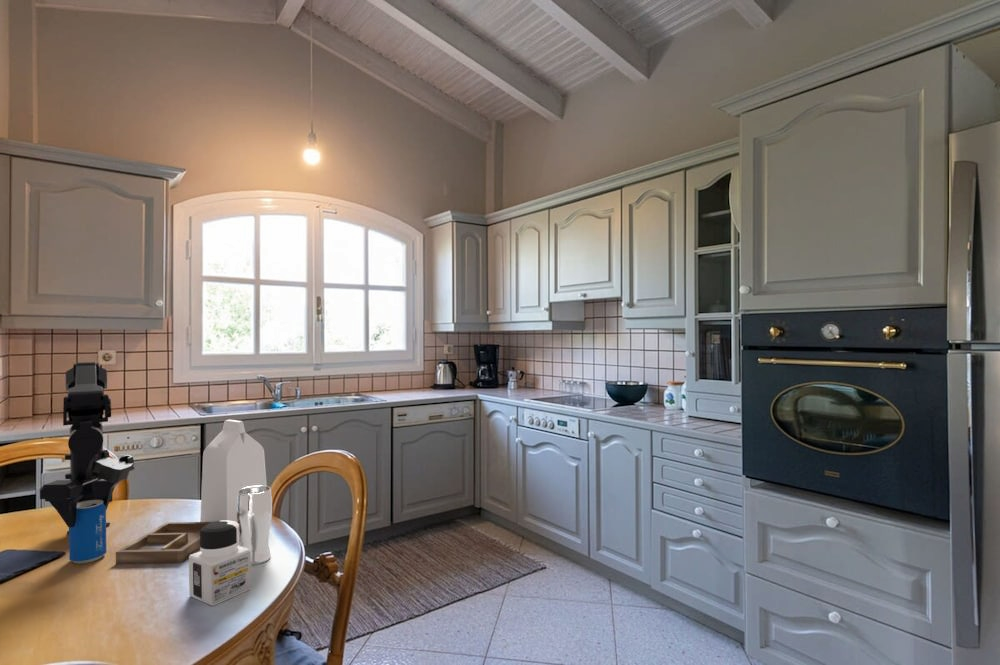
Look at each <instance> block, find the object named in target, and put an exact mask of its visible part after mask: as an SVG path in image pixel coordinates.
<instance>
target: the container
mask: <svg viewBox="0 0 1000 665" xmlns="http://www.w3.org/2000/svg"><path fill="white" fill-rule="evenodd" d="M188 584H189V585H188V587H189V588H188V589H189V590H188V593H189V596H190V597H192V598H194V599H196V600H198V601H200V602H202V603H205V604H207V605H209V606H212V607H214V606H216V605H219V604H221V603H223V602H225V601H228V600H230V599H232V598H234V597H237V596H239V595H242V594H244V593H245V592H248V591H250V590H251V589H252V565H251V551H250V549H247V548H244V547H242V545H240V532H239V524H238V523H237V522H235V521H231V520H221V521H216V522H212V523H209V524H207V525H206V526H204V527H203V528H202V529H201V530H200V550H199V551H197V552H196V553H194V554H191V555H190V556H189V558H188Z"/></svg>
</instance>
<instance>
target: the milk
mask: <svg viewBox="0 0 1000 665" xmlns="http://www.w3.org/2000/svg"><path fill="white" fill-rule="evenodd" d="M265 456H266V455H265V449H264V447H263V445H262V444H261V443H260V442H258V441H257V439H254V438H253V437H252V436H251V435H249V434H248V433H247V432H246V429H245V424H244V422H243V420H235V419H226V420H225V419H224V422H223V427H222V430H221V431H220V432H218V434H217V435H216V436H215V437H214V438H213V440H211V441H210V443H209V444H207V446H206V447H205V449H204V450H203V454H202V471H201V495H200V496H201V497H200V498H201V499H200V519H199V520H200V521H199V522H216V521H221V520H231V521H235V522H237V496H238V493H237V492H238V491H239V490H240V489H243V488H246V487H251V486H268V485H267V470H266V458H265ZM237 523H238V522H237Z"/></svg>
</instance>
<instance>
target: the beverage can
mask: <svg viewBox="0 0 1000 665" xmlns="http://www.w3.org/2000/svg"><path fill="white" fill-rule="evenodd" d="M106 523H107V510H106V506H105V505H104V504H103V500H89V501H83V502H79V503H77V510H76V522H75V526H74V527H68V531H69V534H68V544H69V545H68V548H69V549H68V551H69V553H68V554H69V555H68V558H69V559H68V560H69V561H70V562H73V563H74V564H78V565H79V564H80V565H81V564H87V563H92V562H94V561H98V560H100V559H101V558H103V557H104V555H106V554H107V526H106Z"/></svg>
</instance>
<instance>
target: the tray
mask: <svg viewBox="0 0 1000 665" xmlns="http://www.w3.org/2000/svg"><path fill="white" fill-rule="evenodd" d="M209 523H212V522H200V521H185V522H184V521H183V522H182V521H181V522H180V521H176V522H175V521H173V522H164V523H162V524H161V525H160V526H158V527H156V528H154V529H153V530H150V531H149V532H147V533H146V534H144V535H142V536H141V537H139V538H138V539H136V540H134V541H132V542H130V543H129V544H127V545H126V546H124V547H122V548H120V549H119V550H117V551H115V565H128V564H175V563H176V564H179V563H180V564H181V563H184V562H185V561H186V560H189V556H190V555H191V554H194V553H197V552H200V530H201V529H202V528H203V527H204V526H206V525H207V524H209Z"/></svg>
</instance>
